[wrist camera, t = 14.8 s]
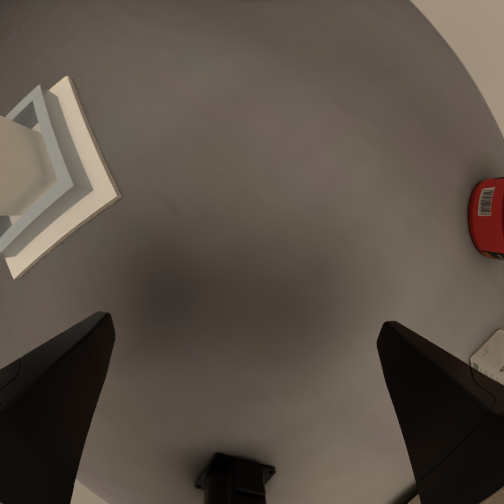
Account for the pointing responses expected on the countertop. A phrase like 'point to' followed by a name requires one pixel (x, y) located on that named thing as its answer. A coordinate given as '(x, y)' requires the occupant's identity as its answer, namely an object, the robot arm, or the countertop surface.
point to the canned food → (488, 217)
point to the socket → (67, 172)
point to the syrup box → (491, 357)
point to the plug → (22, 168)
